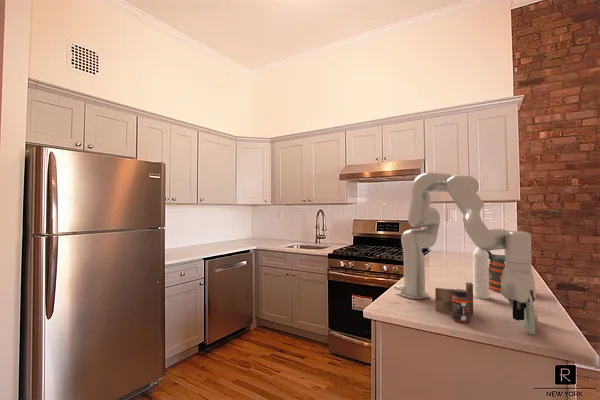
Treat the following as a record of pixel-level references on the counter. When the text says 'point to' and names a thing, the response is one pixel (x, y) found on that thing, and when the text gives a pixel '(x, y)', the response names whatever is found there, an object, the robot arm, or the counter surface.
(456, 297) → the supplement bottle
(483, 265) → the water bottle
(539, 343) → the counter surface
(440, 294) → the wall frame
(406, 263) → the robot arm
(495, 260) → the beer stein
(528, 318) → the door leaf
